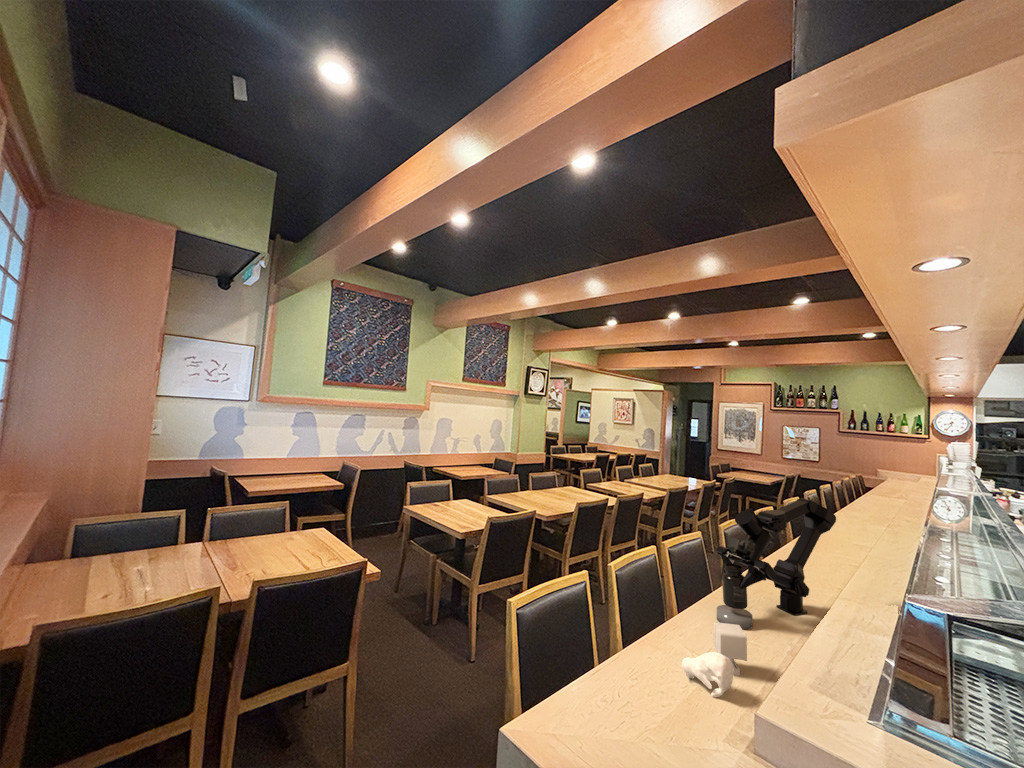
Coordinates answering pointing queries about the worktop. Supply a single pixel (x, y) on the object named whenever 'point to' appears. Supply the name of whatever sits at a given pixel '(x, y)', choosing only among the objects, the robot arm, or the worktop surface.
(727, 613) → the stand
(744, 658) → the security camera
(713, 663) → the white toy
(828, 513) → the robot arm
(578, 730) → the worktop surface
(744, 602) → the supplement bottle
